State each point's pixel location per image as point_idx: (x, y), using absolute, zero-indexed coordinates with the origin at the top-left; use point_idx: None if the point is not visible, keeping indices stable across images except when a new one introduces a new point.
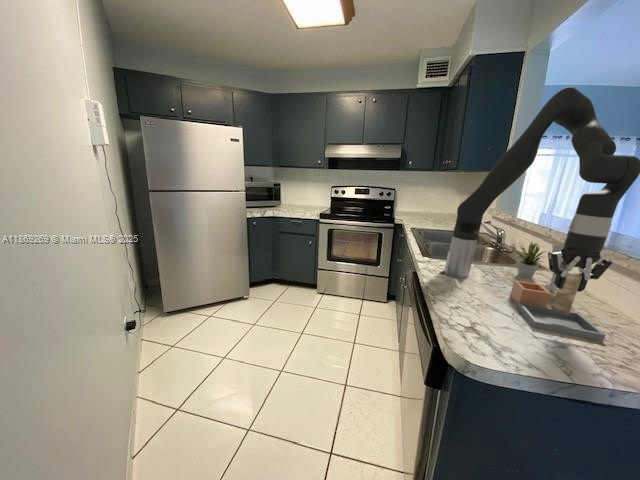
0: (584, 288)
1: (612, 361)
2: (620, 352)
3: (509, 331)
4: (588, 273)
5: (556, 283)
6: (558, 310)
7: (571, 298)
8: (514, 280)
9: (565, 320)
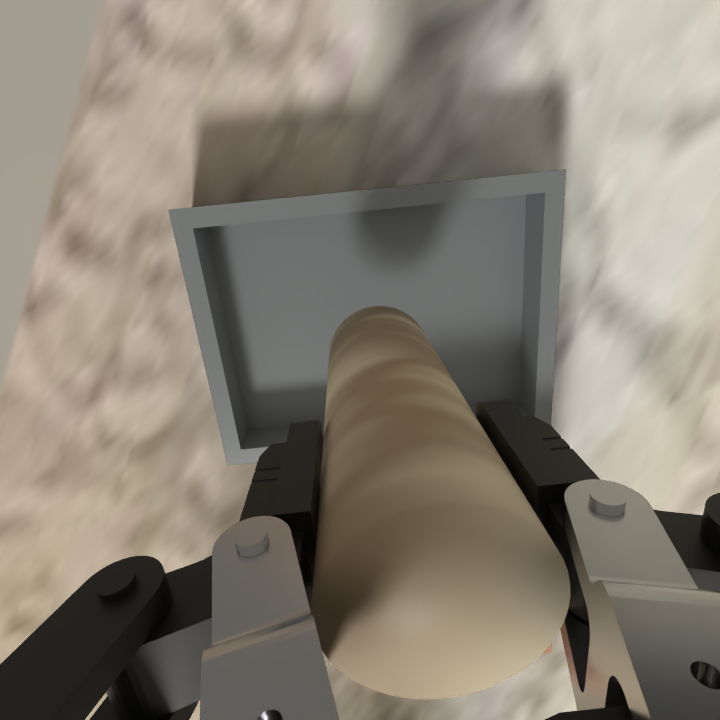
0: (263, 456)
1: (201, 4)
2: (121, 161)
3: (689, 79)
4: (243, 626)
5: (557, 433)
6: (409, 317)
7: (370, 350)
8: (550, 650)
9: (307, 383)
